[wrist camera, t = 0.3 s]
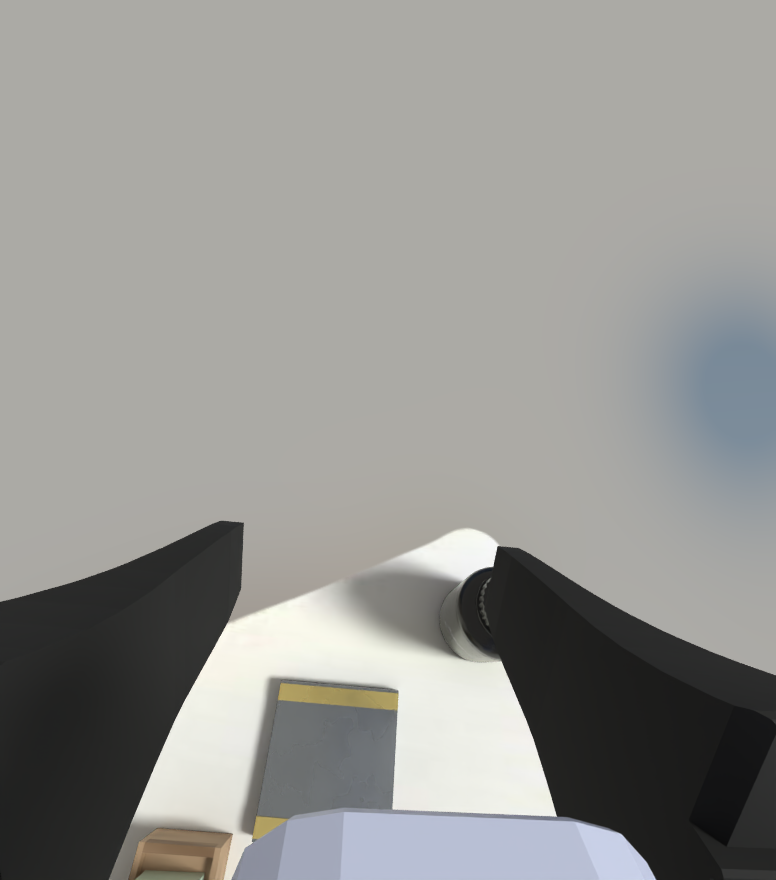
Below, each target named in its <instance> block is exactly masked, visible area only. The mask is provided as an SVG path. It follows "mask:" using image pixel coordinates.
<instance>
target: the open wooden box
mask: <svg viewBox="0 0 776 880" xmlns="http://www.w3.org/2000/svg"><path fill="white" fill-rule="evenodd" d="M232 835H233V834H228V833H215V832H202V831H189V830H176V829H164V828H157V829H156V830H154V831H153V832H152V833H150V834H149V835H148V836H146V837H145V838H144V839H142V840H141V841H140V842H139V844H138V847H137V851H136V854H135V858H134V861H133V865H132V868H131V872H130V875H129V879H128V880H135V879H136V878H137V877H139V876H140V875H141V874H142V873H143V872H144V871H145V870H152V871H179V872H202V873H205V875H204V880H224V875H225V870H226V865H227V860H228V855H229V850H230V845H231V840H232Z"/></svg>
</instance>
